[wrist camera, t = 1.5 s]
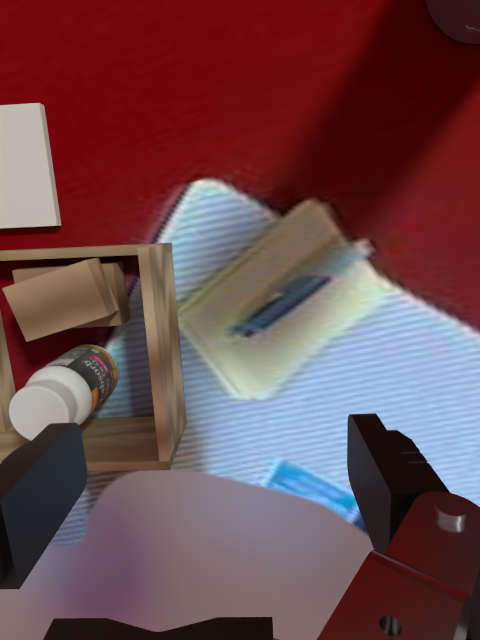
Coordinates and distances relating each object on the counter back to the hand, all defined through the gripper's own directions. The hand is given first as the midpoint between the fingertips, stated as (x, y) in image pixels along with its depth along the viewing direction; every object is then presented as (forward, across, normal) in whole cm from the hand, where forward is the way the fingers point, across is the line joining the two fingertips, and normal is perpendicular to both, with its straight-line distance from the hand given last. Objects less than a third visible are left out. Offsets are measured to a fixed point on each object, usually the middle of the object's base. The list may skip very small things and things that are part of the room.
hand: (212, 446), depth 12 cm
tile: (+26, +21, -12) cm, 36 cm away
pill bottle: (+26, +15, +7) cm, 31 cm away
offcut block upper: (+24, +15, -1) cm, 28 cm away
